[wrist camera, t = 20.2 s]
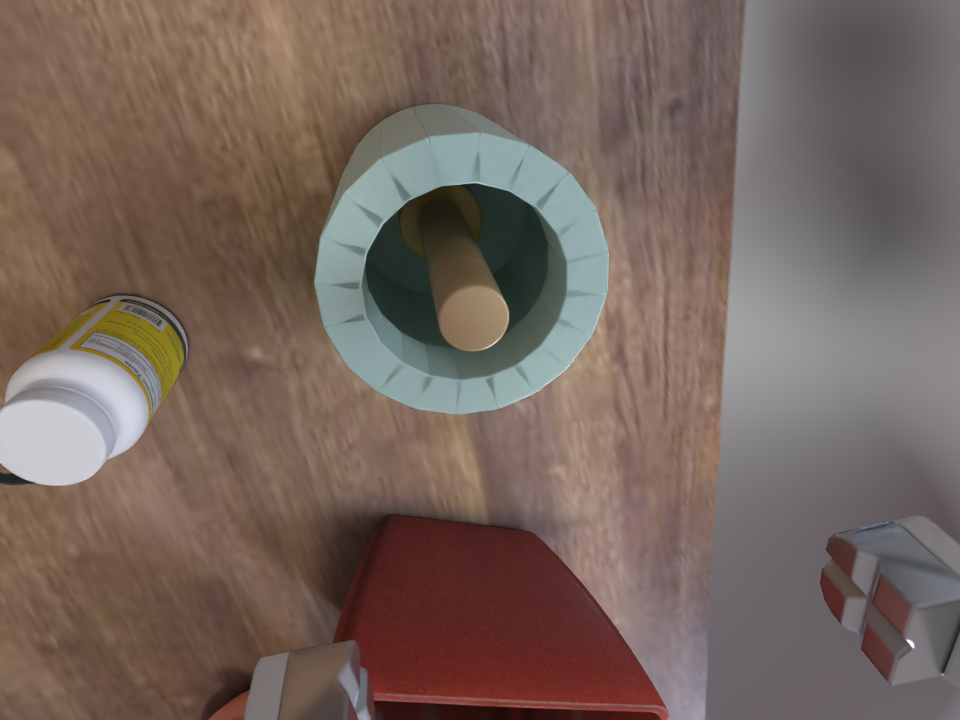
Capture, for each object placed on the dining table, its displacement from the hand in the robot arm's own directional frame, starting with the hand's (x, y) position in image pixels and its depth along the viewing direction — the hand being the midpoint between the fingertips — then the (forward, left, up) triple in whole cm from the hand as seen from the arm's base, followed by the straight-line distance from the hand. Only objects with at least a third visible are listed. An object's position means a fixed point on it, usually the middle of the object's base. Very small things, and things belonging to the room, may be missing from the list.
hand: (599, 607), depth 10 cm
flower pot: (+12, +28, -29) cm, 42 cm away
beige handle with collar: (0, -1, -27) cm, 27 cm away
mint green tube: (0, 0, -29) cm, 29 cm away
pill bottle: (+20, 0, -29) cm, 35 cm away
